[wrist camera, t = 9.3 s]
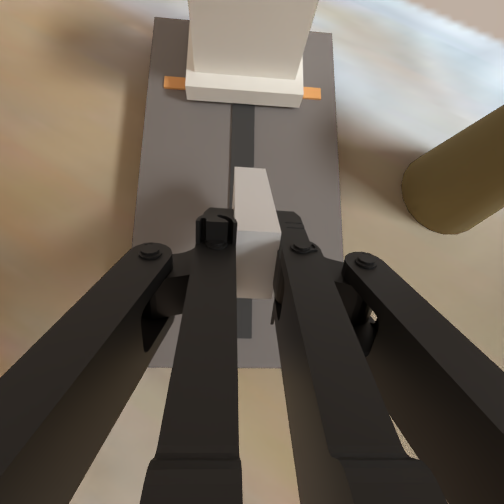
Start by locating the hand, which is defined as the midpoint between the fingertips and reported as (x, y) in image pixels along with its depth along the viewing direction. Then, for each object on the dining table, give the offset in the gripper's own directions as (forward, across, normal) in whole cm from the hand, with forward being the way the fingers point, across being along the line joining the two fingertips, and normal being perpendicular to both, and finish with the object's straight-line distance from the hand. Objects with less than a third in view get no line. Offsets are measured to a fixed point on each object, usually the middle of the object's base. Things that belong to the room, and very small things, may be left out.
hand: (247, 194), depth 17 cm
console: (+5, 0, -2) cm, 6 cm away
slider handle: (+9, 0, +5) cm, 11 cm away
